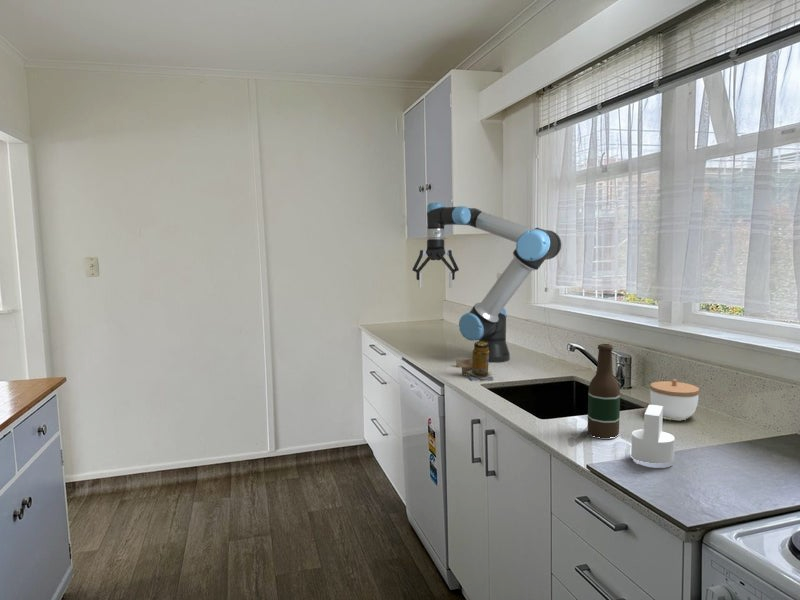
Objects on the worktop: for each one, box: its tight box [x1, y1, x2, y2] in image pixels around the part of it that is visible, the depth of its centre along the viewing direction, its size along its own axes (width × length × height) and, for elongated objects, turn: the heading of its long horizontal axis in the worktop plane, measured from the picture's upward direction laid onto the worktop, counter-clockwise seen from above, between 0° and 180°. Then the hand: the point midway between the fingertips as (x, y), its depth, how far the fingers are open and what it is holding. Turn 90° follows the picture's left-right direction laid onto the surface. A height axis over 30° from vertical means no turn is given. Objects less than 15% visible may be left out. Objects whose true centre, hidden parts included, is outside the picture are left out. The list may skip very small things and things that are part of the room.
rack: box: [456, 358, 473, 376], centre depth 222 cm, size 10×15×3 cm, turn 3°
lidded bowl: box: [649, 378, 700, 419], centre depth 159 cm, size 13×13×11 cm
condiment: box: [467, 340, 497, 379], centre depth 207 cm, size 7×8×12 cm
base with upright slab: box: [630, 404, 676, 463], centre depth 127 cm, size 9×9×12 cm
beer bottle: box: [587, 343, 621, 438], centre depth 144 cm, size 8×8×24 cm
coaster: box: [467, 374, 494, 381], centre depth 209 cm, size 8×8×1 cm
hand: (435, 287), depth 244 cm, fingers open, 13 cm apart
